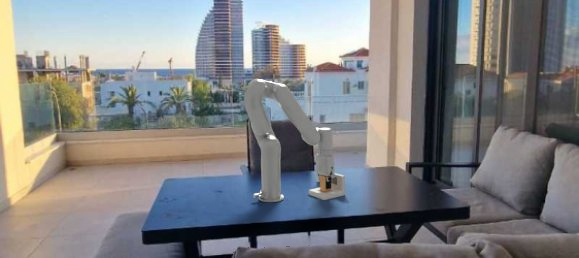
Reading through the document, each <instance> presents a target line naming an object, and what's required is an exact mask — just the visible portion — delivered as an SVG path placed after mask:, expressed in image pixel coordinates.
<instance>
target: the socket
mask: <svg viewBox="0 0 579 258" xmlns="http://www.w3.org/2000/svg"><path fill="white" fill-rule="evenodd" d="M334 174H335V178H333V179H332V181H331V191H329V192H323V191H320V187H316V188H312V189H308V195H309V196H312V197H315V198H317V199H319V200H323V201H326V200H331V199H334V198H340V197H343V196H345V195H346V176H345V175H344V174H340V173H336V172H334Z"/></svg>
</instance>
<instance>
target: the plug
mask: <svg viewBox="0 0 579 258" xmlns="http://www.w3.org/2000/svg"><path fill="white" fill-rule="evenodd" d="M328 177H329V176H328ZM326 181H327V180H326V176H324V175H320V182H319V188H320V191H323V192H329V191H331V188H330V189H326Z"/></svg>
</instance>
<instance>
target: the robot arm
mask: <svg viewBox="0 0 579 258" xmlns="http://www.w3.org/2000/svg"><path fill="white" fill-rule="evenodd" d="M243 98H244V99H243V102H244V103H243V104H244V107H245V111H246V113H247V115H248V118H249V121H250V128H251V130H252V132H253V134H254V137H255V139H256V141H257V144H258V146H259V148H260V153H261V155H260V169H261V170H260V171H261V172H260V173H261V189H260V190H259V192H258V193H253V194H252V196H253V199H256V198H258V200H259V201H261V202H263V203H278V202H281V201H283V200H284V199H285V196H284V194H282V185H281V184H282V183H281V180H282V179H281V178H282V177H281V153H282V152H281V151H282V147H281V143H280V141H279V139H278V138H277V137H276V134H275V132H274V130H273V127H272V122H271V120H270V119H269V115H268V114H267V111H266V109H265V106H264V104H263V98H265V99H270V100H274V101H276V103H277V104H278V106H279V108H280V109H281V110H282V112H283V113H284V115H285V117H287V119H288V120H289V121H290V123H292V124H293V126H295V128H297V130H298V131H299V133H300V134H301V139H302V140H303V141H304V142H305V143H306V144H308V145H309V146H316V145H317V154H316V157H315V174H316V173H317V174H318V176H319V179H320V175H324V176H326V180H327V181H326V189H330V188H331V181H332V179H333V178H335V174H334V173H335V171H336V170H335V159H334V155H333V154H334V153H333V152H334V151H333V149H334V147H333V146H334V143H333V136H334V135H333V133H334V132H333V129H332V128H331V127H320V128H319V127H316V126H315V124H314V123H313V121H312V120H311V119H310V118H309V116H308V114H307V113H306V112H305V110H304V109H303V107H302V106H301V105H300V103H299V102H298V100H297V98H296V97H295V95H294V94H293V92H292V91H291V90H290V88H289V87H288V86H287V85H286V84H284V83H279V82H278V83H277V82H273V81H269V80H264V79H260V78H253V79H251V80H250V82H249V83H248V87H247V89H246V91H245V94H244V97H243ZM328 176H329V177H328Z"/></svg>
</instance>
